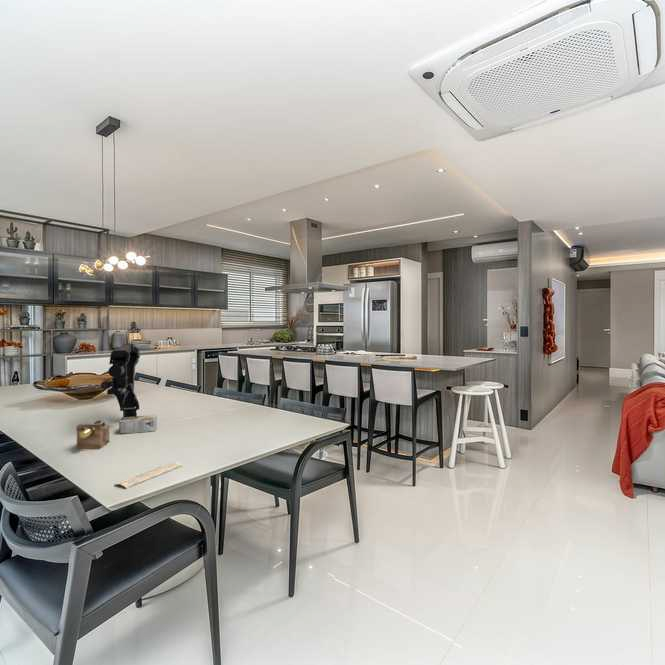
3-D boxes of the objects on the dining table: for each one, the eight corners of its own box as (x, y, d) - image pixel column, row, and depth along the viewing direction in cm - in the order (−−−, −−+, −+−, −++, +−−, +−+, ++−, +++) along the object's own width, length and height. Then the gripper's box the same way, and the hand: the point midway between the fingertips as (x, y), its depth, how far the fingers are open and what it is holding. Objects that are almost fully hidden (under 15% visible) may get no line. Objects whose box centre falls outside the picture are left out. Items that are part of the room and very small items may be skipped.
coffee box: (157, 427, 209) (122, 429, 204) (156, 414, 209) (122, 417, 204) (155, 431, 200) (119, 434, 195) (155, 418, 200) (118, 421, 195)
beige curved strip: (126, 491, 130) (126, 485, 130) (112, 487, 134) (111, 482, 134) (183, 467, 151) (183, 463, 151) (169, 464, 155) (169, 460, 155)
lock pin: (94, 430, 183) (94, 420, 183) (105, 429, 184) (105, 419, 184) (77, 440, 166) (76, 430, 166) (88, 440, 167) (88, 429, 167)
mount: (87, 443, 181) (87, 420, 181) (109, 442, 182) (109, 419, 182) (77, 450, 171) (76, 425, 171) (100, 449, 172) (99, 424, 172)
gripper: (110, 372, 211) (111, 402, 211) (95, 377, 193) (95, 410, 193) (133, 372, 213) (133, 402, 213) (120, 377, 194) (120, 409, 195)
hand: (121, 405), depth 203 cm, fingers closed
